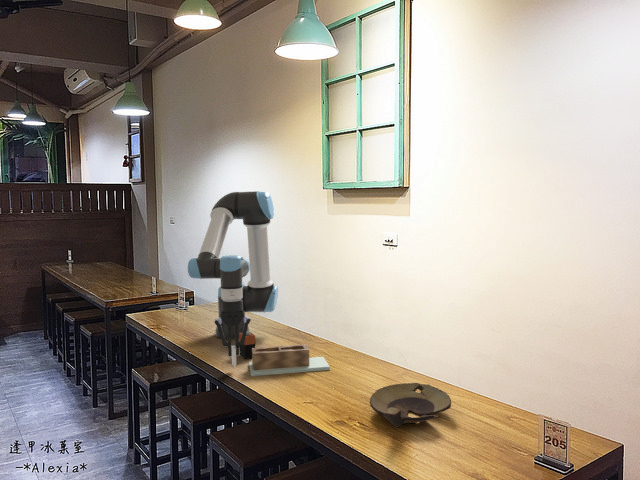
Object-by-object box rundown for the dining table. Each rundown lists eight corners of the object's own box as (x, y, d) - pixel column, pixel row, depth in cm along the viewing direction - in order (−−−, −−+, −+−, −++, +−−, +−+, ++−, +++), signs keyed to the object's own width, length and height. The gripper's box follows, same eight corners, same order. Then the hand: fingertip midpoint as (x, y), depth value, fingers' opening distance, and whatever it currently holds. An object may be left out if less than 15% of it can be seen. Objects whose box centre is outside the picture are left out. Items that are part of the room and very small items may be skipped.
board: (251, 376, 186) (250, 364, 185) (249, 365, 197) (248, 354, 197) (329, 369, 191) (329, 358, 190) (323, 359, 202) (323, 348, 202)
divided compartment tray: (253, 370, 188) (253, 353, 187) (252, 364, 195) (251, 348, 194) (309, 365, 192) (309, 349, 191) (306, 360, 199) (306, 344, 198)
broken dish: (468, 414, 151) (468, 387, 151) (399, 448, 132) (399, 418, 131) (406, 392, 168) (406, 369, 167) (337, 420, 148) (336, 394, 148)
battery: (245, 359, 204) (244, 334, 203) (239, 355, 210) (238, 330, 209) (256, 357, 206) (255, 332, 205) (249, 353, 212) (248, 328, 211)
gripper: (213, 302, 183) (215, 369, 185) (251, 300, 186) (253, 366, 188) (213, 298, 191) (215, 362, 193) (250, 296, 193) (251, 360, 195)
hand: (234, 364), depth 190 cm, fingers closed
